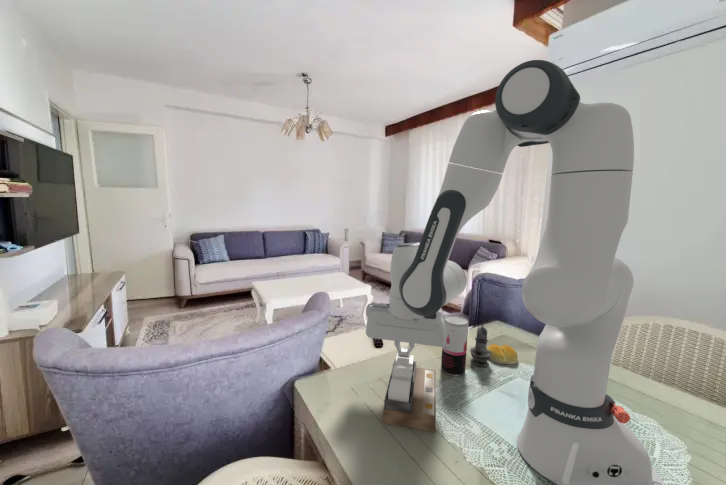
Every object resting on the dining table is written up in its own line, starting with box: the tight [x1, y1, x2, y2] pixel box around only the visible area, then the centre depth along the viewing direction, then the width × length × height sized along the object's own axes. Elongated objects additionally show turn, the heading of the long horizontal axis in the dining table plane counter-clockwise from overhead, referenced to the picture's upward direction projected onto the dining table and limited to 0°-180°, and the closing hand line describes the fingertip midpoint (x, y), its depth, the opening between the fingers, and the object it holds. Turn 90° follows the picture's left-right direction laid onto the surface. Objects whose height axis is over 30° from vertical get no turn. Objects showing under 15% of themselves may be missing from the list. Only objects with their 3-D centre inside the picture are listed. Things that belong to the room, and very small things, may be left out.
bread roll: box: [486, 343, 519, 366], centre depth 95 cm, size 8×9×4 cm
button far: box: [395, 352, 415, 372], centre depth 81 cm, size 4×4×2 cm
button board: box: [382, 358, 437, 433], centre depth 75 cm, size 11×19×5 cm, turn 167°
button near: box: [388, 379, 410, 403], centre depth 69 cm, size 4×4×2 cm
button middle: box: [392, 365, 412, 386], centre depth 75 cm, size 4×4×2 cm
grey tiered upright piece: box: [469, 324, 491, 369], centre depth 91 cm, size 6×6×12 cm
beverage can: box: [440, 315, 469, 377], centre depth 87 cm, size 7×6×15 cm
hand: (403, 356), depth 81 cm, fingers closed
